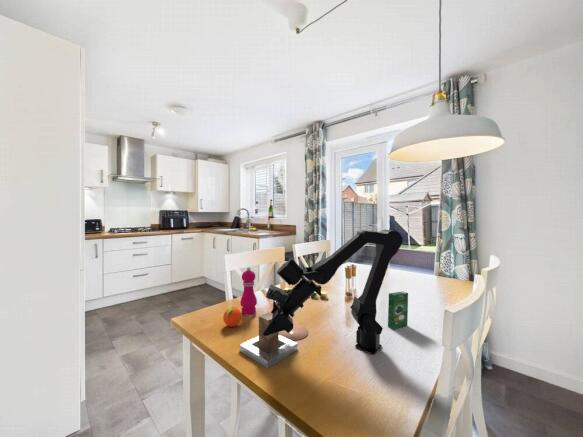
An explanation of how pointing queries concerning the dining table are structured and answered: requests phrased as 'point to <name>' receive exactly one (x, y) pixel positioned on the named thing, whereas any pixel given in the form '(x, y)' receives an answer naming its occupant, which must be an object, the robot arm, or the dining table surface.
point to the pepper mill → (248, 293)
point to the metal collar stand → (271, 358)
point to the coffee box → (398, 310)
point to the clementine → (232, 316)
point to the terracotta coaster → (295, 333)
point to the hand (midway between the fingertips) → (264, 329)
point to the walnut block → (270, 341)
